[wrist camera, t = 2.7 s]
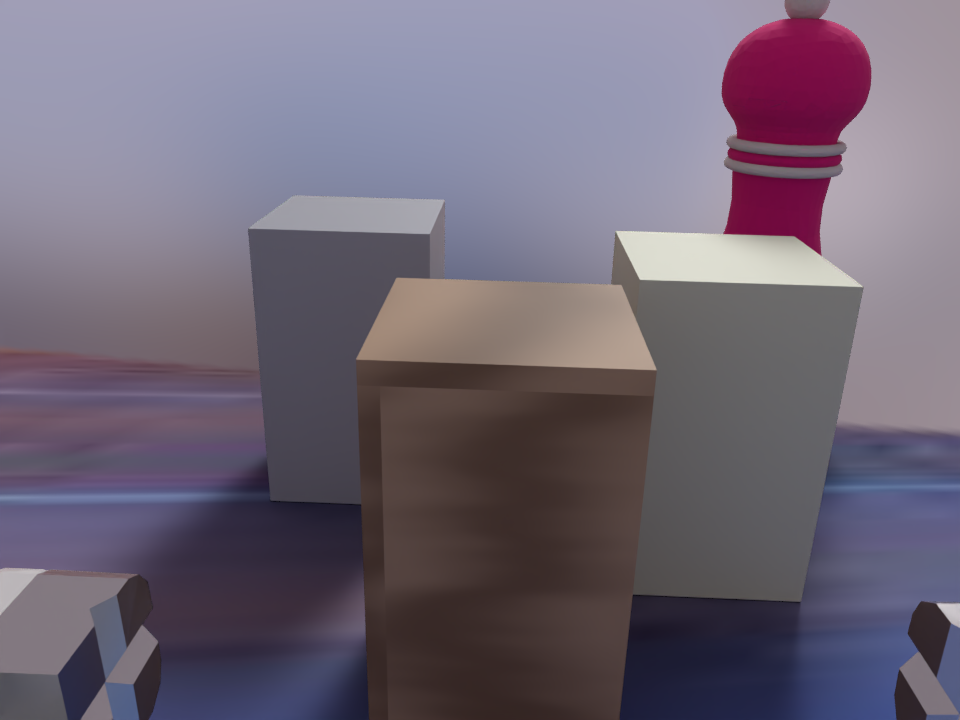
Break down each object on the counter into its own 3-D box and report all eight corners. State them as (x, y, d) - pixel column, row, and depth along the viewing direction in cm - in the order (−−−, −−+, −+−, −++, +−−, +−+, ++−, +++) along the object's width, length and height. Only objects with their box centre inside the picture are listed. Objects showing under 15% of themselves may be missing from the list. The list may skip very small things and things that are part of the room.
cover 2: (609, 593, 28) (640, 279, 24) (593, 495, 34) (615, 230, 30) (801, 601, 28) (863, 286, 24) (751, 501, 34) (794, 236, 30)
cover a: (369, 749, 22) (356, 359, 18) (401, 595, 28) (396, 277, 24) (614, 761, 22) (656, 370, 18) (593, 603, 27) (621, 284, 23)
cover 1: (270, 500, 33) (247, 228, 29) (308, 429, 39) (293, 195, 35) (430, 507, 33) (430, 234, 29) (443, 434, 39) (444, 199, 35)
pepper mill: (654, 429, 40) (704, -29, 33) (687, 378, 46) (736, -18, 39) (813, 463, 37) (907, -31, 30) (826, 404, 43) (908, -18, 36)
